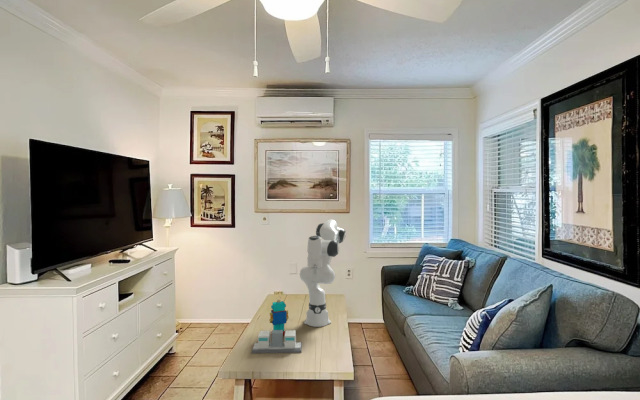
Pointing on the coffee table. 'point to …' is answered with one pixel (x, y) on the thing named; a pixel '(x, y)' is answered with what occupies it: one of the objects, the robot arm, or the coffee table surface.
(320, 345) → the coffee table surface
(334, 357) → the coffee table surface
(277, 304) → the toy robot
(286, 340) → the rail rack
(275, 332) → the block
